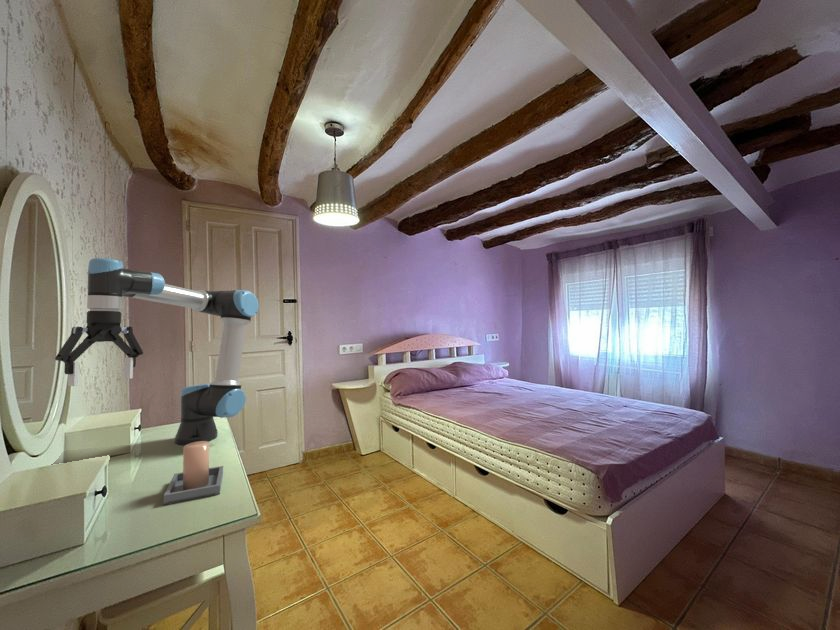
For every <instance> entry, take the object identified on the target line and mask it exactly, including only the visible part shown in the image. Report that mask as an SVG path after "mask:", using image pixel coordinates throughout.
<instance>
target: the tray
mask: <svg viewBox="0 0 840 630" xmlns="http://www.w3.org/2000/svg"><path fill="white" fill-rule="evenodd" d="M223 477H224V465H221V466H219V465H218V466H213V467H209V484H208V485H207V486H205V487H200V488H195V489H189V490H183V471H182V472H177V473H173V476H172V478H171V480H170V482H169V484H168V486H167V488H166V490H165V492H164V494H163V501H162V502H163V503H162V504H163V506H167V505H171V504H175V503H176V504H177V503H182V502H187V501H191V500H196V499H198V500H199V499H203V498H207V497H212V496H217V495H220V494H221V488H222V484H223V483H222V482H223Z"/></svg>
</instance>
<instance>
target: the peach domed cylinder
mask: <svg viewBox="0 0 840 630" xmlns="http://www.w3.org/2000/svg"><path fill="white" fill-rule="evenodd" d="M182 454H183V456H182V458H183V461H182V462H183V463H182V470H183V471H182V472H183V490H189V489H195V488H200V487H205V486H207V485H208V484H209V468H210V441H198V442H193V443H189V444H187V445H183V453H182Z"/></svg>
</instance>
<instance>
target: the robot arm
mask: <svg viewBox="0 0 840 630" xmlns="http://www.w3.org/2000/svg"><path fill="white" fill-rule="evenodd" d="M122 297H124V298H133V299H138V300H143V301H148V302H155V303H161V304H166V305H171V306H177V307H183V308H189V309H192V310H193V311H194V312H198V313H203V314H208V315H210V316H211V315H212V316H217V317H220V320H221V321H222V323H223V324H222V325H223V326H222V332H221V338H220V339H221V340H220V345H219V351H218V358H217V359H218V360H217V365H216V372H215V377H214V380H212V382H209V383H201V384H192V385H188V386H185V387H183V388H182V390H181V396H180V423H179V426H178V429H177V431H176V435H175V436H174V443H175V444H177V445H182V446H185V445H187V444H189V443H193V442H198V441H208V442H210V441H212V440H214V439H217V438H218V433H219V432H218V428H217V426H216V425H217V424H216V423H215V420H214V417H216V418H217V417H218V418H221V419H223V418H227V419H229V418H233V417H235V416H237V415H238V414H239V413H240V412H241V411H242V410H243V408H244V407H245V404H246V400H247V397H246V396H247V395H246V394H245V391H244V390H242V383H241V382H240V381H239V376H240V370H241V364H242V355H243V350H244V342H245V334H246V330H247V329H246V328H247V325H248V324H250V323H251V320H252V318H253V317H254V316H255V315H256V314H258V311H259V307H260V306H259V300H258V298H257V297H256V295H255V294H254V293H253V292H252V291H250V290H245V289H243V290H242V289H236V290H205V289H196V290H195V289H191V288H190V289H189V288H184V287H180V286H176V285H174V284H173V285H172V284H168V283H166V280H165V279H164V277H163V275H161V274H160V273H157V272H153V271H144V270H137V269H130V268H129V269H128V268H126V267H125V268H124V262H123V261H121V260H118V259H113V258H107V257H106V258H105V257H104V258H103V257H94V258H91V259H90V260H89V262H88V268H87V301H86V302H87V303H86V309H88V311H87V312H86V327H83V326H73V327H72V328H71V332H70V335H69V336H68V338H67V339H66V341H65V343H64V344H63V345H62V347H61V348H60V350H59V351H58V353H57V355H55V358H54V360H55V361H58V362H62V363H64V374H65V375H68V376H67V386H68V387H78V386H79V384H78V382H79V362H77V361H76V360H78V359H79V358H80V357H81V356H82V355H83V353H85V352H86V351H87V350H88V349H89V348H90V347H91V346H92V345H93V344H95V343H100V342H101V343H103V342H112V343H113V344H115V345H116V347H118V348H119V349H120V351H122V353H124V354H125V355H126V356H127V357H124V365H123V367H124V369H123V370H124V371H123V379H129V380H130V379H133V377H134V376H133V375H134V374H133V373H134V368H136V362H137V361H136V360H137V358H138V357H139V356H140V355H141V356H142V355H143V354H144V351H143V349H142V348H141V346H140V343H139V342H138V340H137V338H136V337H135V335H134V329H133V326H123V327H121V323H122V312H121V310H122V307H123V305H122V303H123V301H122V299H123V298H122ZM121 333H122V334H123V336H124V338H125V339H126V341H127V342H125V341H124V339H123V338H122V336H120V334H121ZM84 334H87V336H86V337H85V338H83V339H82V341H81V342H80V343H79V344H78V346H76V345H77V343H78V342H79V341H80V340H81V337H82V335H84ZM127 343H128V344H127Z"/></svg>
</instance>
